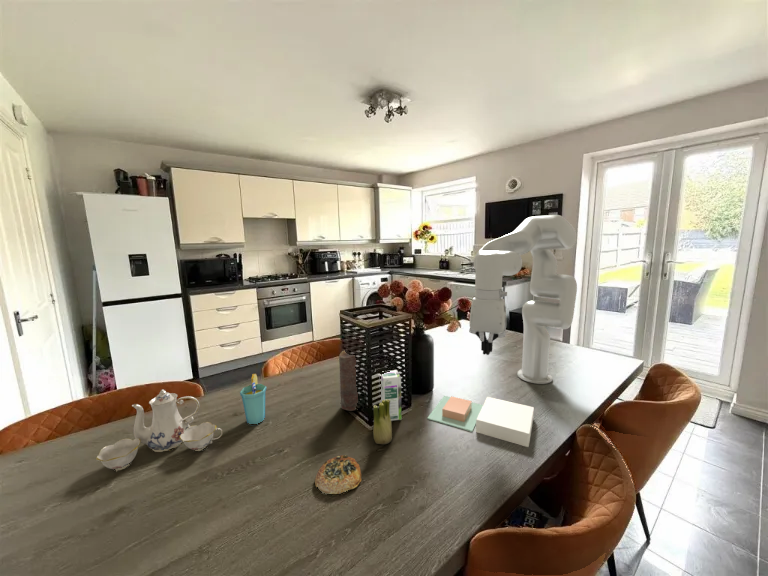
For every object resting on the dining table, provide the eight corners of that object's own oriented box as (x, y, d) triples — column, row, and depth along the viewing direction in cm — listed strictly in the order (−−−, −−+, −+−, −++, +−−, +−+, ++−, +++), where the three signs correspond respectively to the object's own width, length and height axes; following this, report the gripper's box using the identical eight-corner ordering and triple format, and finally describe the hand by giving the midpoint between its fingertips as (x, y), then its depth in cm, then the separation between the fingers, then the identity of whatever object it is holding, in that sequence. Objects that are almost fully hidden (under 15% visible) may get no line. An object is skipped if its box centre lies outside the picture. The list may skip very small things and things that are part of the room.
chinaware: (89, 494, 72) (74, 433, 68) (111, 446, 86) (99, 394, 82) (224, 454, 84) (218, 401, 80) (223, 418, 99) (218, 372, 95)
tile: (471, 401, 101) (471, 408, 101) (451, 396, 104) (450, 403, 105) (464, 414, 93) (464, 422, 94) (442, 408, 97) (442, 416, 97)
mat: (444, 396, 110) (444, 395, 110) (484, 406, 103) (484, 405, 103) (427, 419, 96) (427, 417, 96) (472, 432, 89) (472, 430, 89)
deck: (486, 407, 102) (487, 396, 101) (533, 419, 95) (533, 407, 95) (476, 432, 89) (476, 419, 89) (528, 447, 82) (529, 433, 82)
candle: (359, 415, 99) (357, 356, 96) (337, 413, 101) (335, 355, 98) (365, 403, 107) (363, 348, 104) (345, 401, 108) (343, 347, 105)
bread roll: (340, 455, 81) (340, 439, 79) (371, 480, 74) (372, 463, 72) (305, 482, 72) (305, 465, 71) (336, 513, 66) (336, 495, 64)
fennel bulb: (374, 448, 83) (373, 407, 81) (370, 437, 88) (369, 398, 86) (395, 444, 85) (394, 404, 83) (390, 434, 89) (389, 395, 87)
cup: (272, 430, 92) (268, 383, 90) (243, 437, 89) (239, 389, 86) (266, 408, 104) (263, 366, 102) (242, 414, 101) (237, 371, 99)
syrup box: (384, 422, 95) (383, 378, 93) (380, 412, 101) (379, 370, 98) (401, 420, 96) (401, 376, 94) (397, 410, 102) (396, 368, 100)
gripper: (517, 294, 90) (514, 353, 93) (466, 291, 98) (465, 345, 100) (513, 298, 84) (510, 362, 87) (459, 294, 91) (459, 353, 94)
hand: (486, 353), depth 93 cm, fingers closed
